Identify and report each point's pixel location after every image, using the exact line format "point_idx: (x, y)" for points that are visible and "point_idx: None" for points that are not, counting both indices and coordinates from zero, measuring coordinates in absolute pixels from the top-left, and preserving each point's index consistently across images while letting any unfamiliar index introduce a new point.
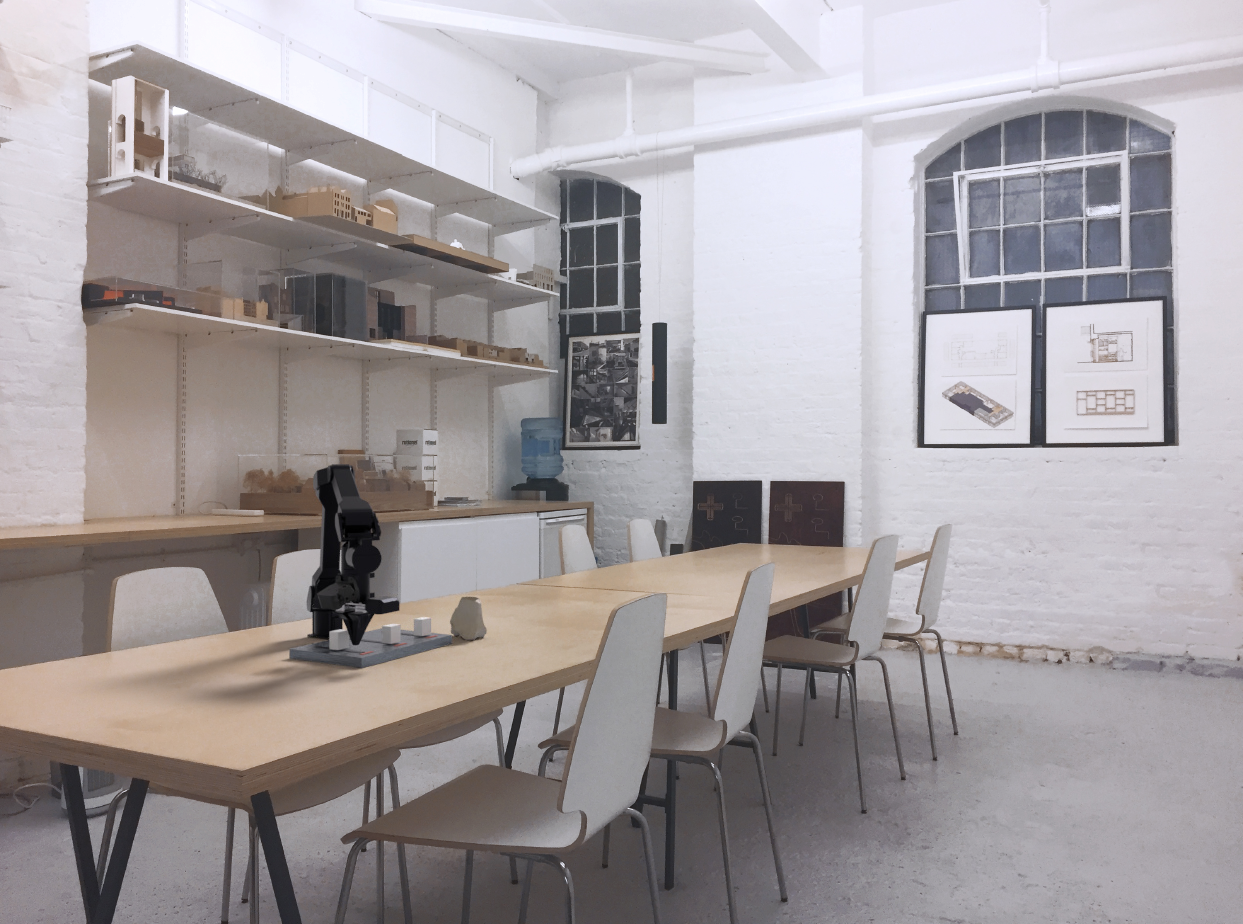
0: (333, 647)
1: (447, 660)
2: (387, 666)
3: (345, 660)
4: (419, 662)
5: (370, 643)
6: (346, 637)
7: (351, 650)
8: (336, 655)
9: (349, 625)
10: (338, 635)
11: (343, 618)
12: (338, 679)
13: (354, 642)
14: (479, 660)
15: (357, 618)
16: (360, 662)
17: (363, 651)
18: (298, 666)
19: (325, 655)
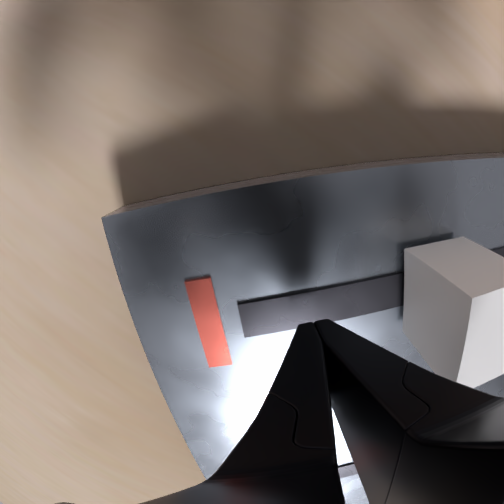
0: (444, 245)
1: (61, 449)
2: (77, 307)
3: (241, 183)
4: (76, 408)
5: None
6: (432, 349)
7: (346, 309)
8: (327, 173)
9: (381, 396)
10: (456, 291)
11: (494, 409)
12: (31, 18)
13: (307, 329)
14: (28, 463)
15: (164, 496)
16: (119, 209)
17: (257, 335)
18: (428, 43)
19: (413, 162)
